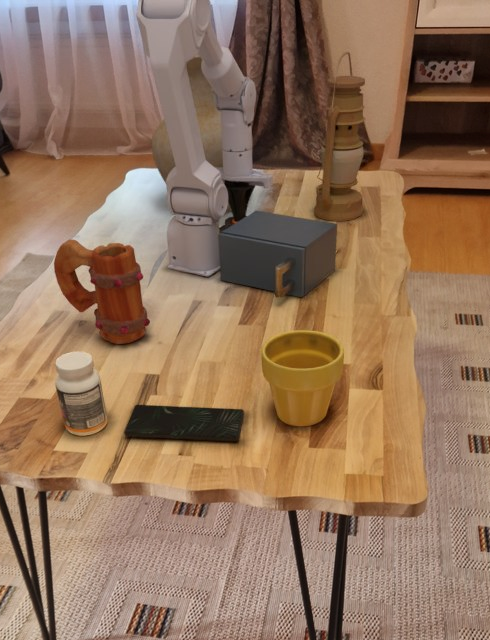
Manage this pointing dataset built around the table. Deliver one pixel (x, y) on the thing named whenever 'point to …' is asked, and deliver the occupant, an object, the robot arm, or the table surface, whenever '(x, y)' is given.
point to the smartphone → (185, 423)
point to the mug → (105, 288)
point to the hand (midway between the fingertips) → (239, 220)
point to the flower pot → (302, 374)
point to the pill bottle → (80, 394)
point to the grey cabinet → (294, 240)
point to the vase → (206, 120)
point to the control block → (227, 224)
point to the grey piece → (262, 264)
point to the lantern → (341, 150)
